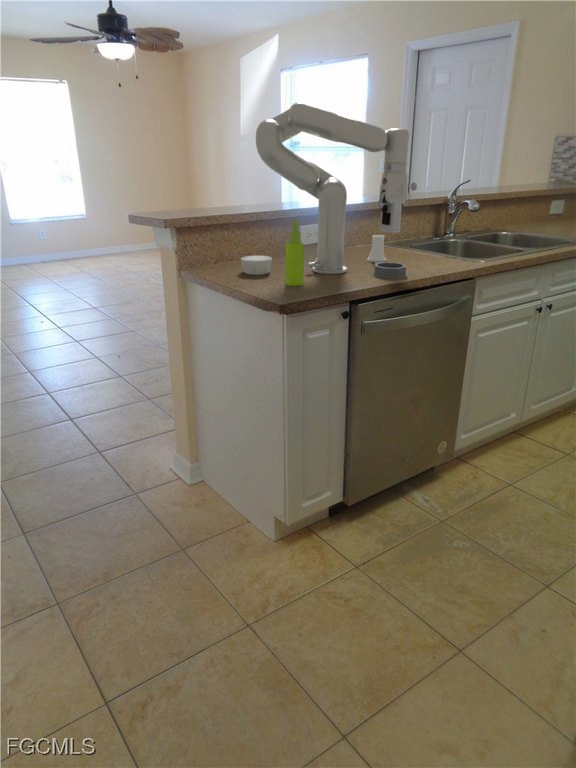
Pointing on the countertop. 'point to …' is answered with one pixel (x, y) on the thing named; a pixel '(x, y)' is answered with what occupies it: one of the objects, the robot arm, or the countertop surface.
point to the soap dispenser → (294, 258)
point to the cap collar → (390, 270)
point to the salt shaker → (377, 249)
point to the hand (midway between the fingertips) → (390, 223)
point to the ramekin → (256, 264)
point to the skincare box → (393, 218)
